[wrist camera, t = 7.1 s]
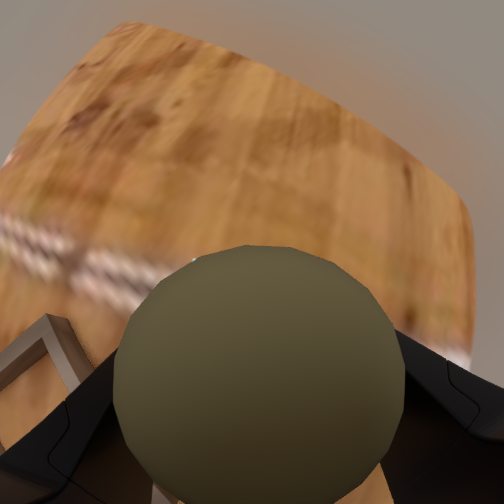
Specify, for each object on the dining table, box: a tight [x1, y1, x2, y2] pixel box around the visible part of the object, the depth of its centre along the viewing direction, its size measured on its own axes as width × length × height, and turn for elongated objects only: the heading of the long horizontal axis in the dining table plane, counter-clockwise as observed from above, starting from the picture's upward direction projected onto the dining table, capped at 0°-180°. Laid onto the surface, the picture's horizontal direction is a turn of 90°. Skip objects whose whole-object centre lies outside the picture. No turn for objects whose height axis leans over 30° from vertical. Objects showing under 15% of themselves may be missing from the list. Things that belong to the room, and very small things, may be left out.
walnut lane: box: [0, 313, 179, 504], centre depth 14 cm, size 15×16×3 cm
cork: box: [113, 245, 405, 504], centre depth 8 cm, size 6×6×11 cm
